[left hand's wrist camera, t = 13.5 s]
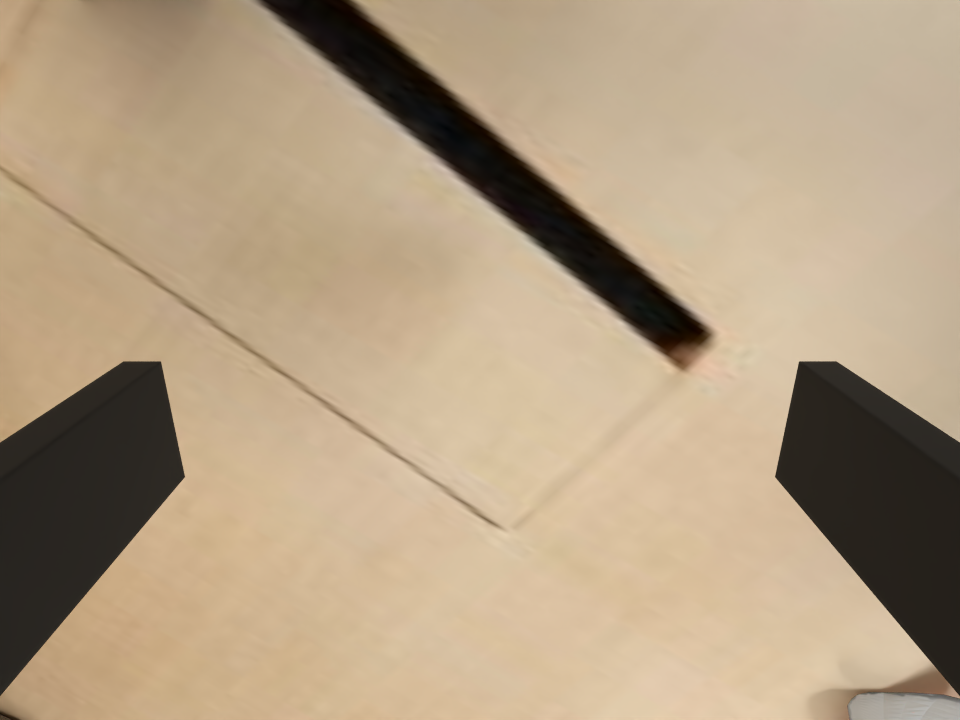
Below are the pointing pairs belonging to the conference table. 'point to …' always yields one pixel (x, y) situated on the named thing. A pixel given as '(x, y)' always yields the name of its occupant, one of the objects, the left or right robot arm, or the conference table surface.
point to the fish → (903, 706)
